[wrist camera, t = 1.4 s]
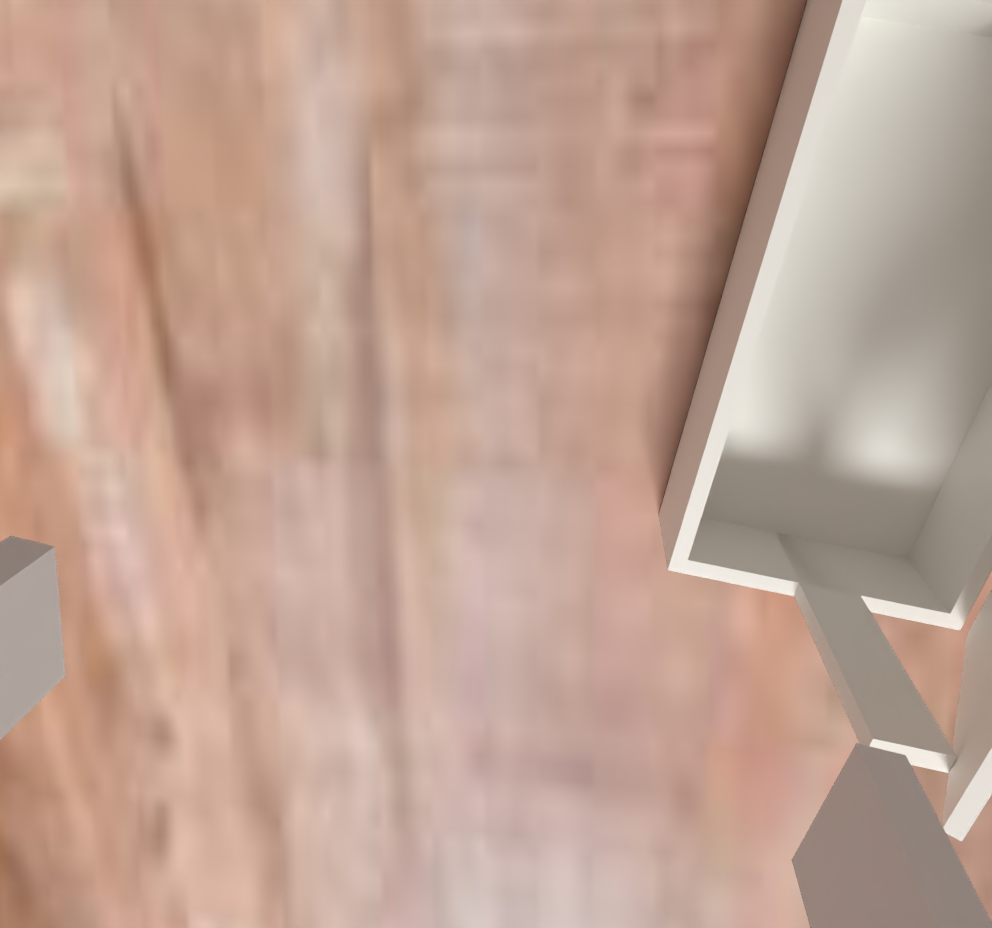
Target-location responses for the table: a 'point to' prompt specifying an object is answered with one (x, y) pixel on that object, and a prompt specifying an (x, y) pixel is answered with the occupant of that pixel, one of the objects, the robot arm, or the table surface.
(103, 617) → the table surface
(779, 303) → the box
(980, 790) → the lid
